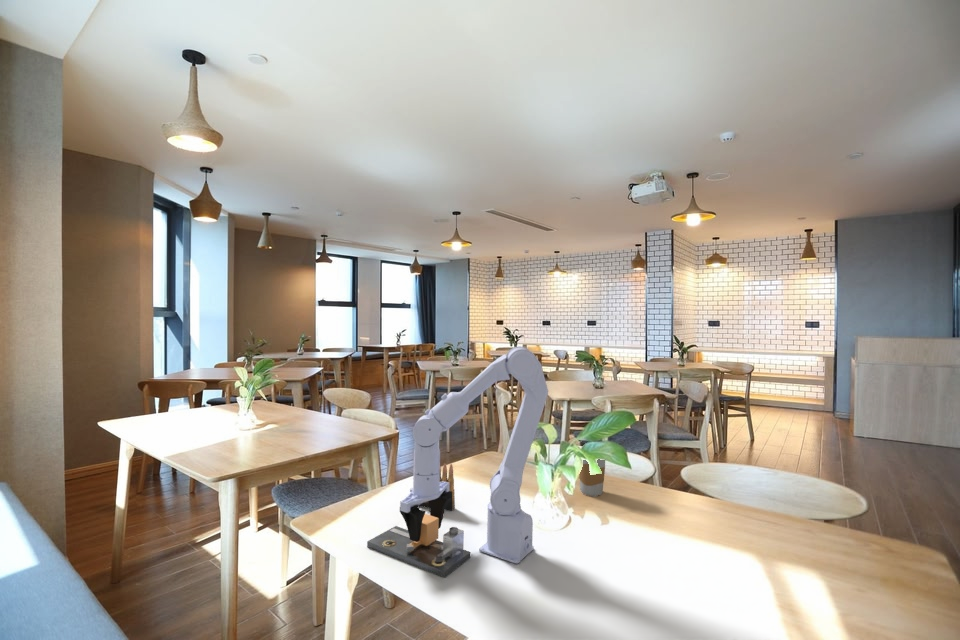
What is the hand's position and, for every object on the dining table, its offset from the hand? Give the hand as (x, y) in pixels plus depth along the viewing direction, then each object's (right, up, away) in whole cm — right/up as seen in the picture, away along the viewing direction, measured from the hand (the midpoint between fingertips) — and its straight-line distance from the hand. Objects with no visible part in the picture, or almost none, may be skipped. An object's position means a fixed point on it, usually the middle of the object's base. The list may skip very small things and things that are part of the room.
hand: (425, 533), depth 100 cm
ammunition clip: (0, -3, +21) cm, 22 cm away
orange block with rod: (-1, -1, -2) cm, 2 cm away
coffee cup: (+44, -4, +33) cm, 56 cm away
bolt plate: (-1, -3, -2) cm, 4 cm away
